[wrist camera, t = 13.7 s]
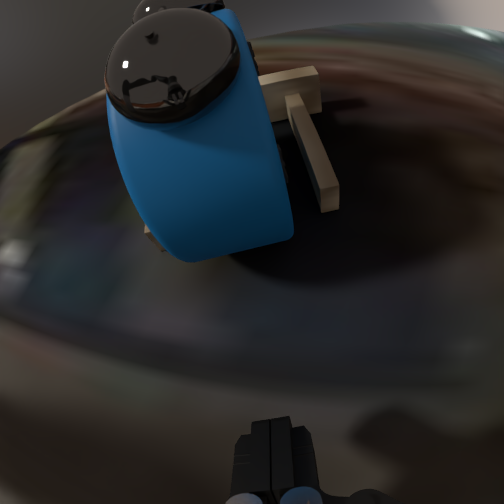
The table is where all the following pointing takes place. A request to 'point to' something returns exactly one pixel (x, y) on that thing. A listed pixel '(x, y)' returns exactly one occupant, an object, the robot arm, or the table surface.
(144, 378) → the table surface
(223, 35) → the alarm clock
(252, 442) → the robot arm
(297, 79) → the wooden staple shape
